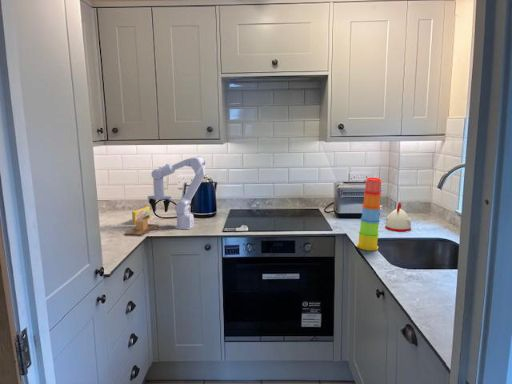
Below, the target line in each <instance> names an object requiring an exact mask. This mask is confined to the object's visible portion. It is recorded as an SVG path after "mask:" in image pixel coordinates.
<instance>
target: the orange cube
mask: <svg viewBox="0 0 512 384" xmlns="http://www.w3.org/2000/svg"><path fill="white" fill-rule="evenodd" d="M148 220H149V219H148ZM148 220H147V219H139V220H137V221H135V225H134V226H135V228H136V230H145V229H147V228H148V224H149V223H148Z"/></svg>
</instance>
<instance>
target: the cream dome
mask: <svg viewBox="0 0 512 384" xmlns="http://www.w3.org/2000/svg"><path fill="white" fill-rule="evenodd" d="M386 216H387V217H386V220H385V226H384V228H385V229H386V230H388V231H389V232H396V233H407V232H406V231H408V232H411V229H412V222H411V221H412V220H411V216H410V217H409V215H408V213H407V212H406V211H405V210H404V209H402V202H398V204H397V208H395V209H394V210H392V211H391V212H390V213H389V214H388V215H386Z"/></svg>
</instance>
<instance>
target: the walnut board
mask: <svg viewBox="0 0 512 384" xmlns="http://www.w3.org/2000/svg"><path fill="white" fill-rule="evenodd" d="M158 227H159V224H154V223H153V224H151V223H148V228H147V229H145V230H136V227H134V228H131V229H130V230H128V231H126V232H125V233H124V236H129V235H130V236H131V237H142V236H144V235H146V234H147V233H149V232H151V231H153V230H155V229H157V228H158ZM130 236H129V237H130Z"/></svg>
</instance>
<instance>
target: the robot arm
mask: <svg viewBox="0 0 512 384" xmlns="http://www.w3.org/2000/svg"><path fill="white" fill-rule="evenodd" d="M206 164H207V163H206V161H205V159H204V157H203V156H201V155H198V156H195V157H190V158H186V159H183V160H181V161H178V162H177V163H174V164H172V163H166V164H165V165H163V166H158V168H155V169H154V170H152V171H151V178H152V180H153V195H147V200H148V203H149V205H150V208H151V209H152V212H156V211H157V206H156V205H157V204H156V203H157V201H158V200H159V201H161V200H162V203H163V207H164V208H163V209H164V213H167V212H168V210H169V205H170V204H171V201H172V196H168V195H165V184H164V183H165V182H164V177H167V176H170V175H173V174H174V173H175V172H176V170H179V169H181V168H184V167H189V168H191V169H192V170H193V171H194V174H195V175H194V177H193V179H192V181H191V182H190V184H189V186H188V187H187V190H186V191H185V193H184V195H183V196H182V198H181V199H180V200H179V202H178V203H177V204H175V206H174V211H175V212H176V226H175V227H174V229H175V230H176V229H177V230H191V229H192V228H193V227H195V224H194V223H195V220H194V219H195V218H194V213H191V212H190V210H189V209H190V207H191V203H192V199H193V197H194V196H195V194H196V192H197V191H198V189H199V187H200V185H201V184H202V182H203V180H204V178H205V176H206Z"/></svg>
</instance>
